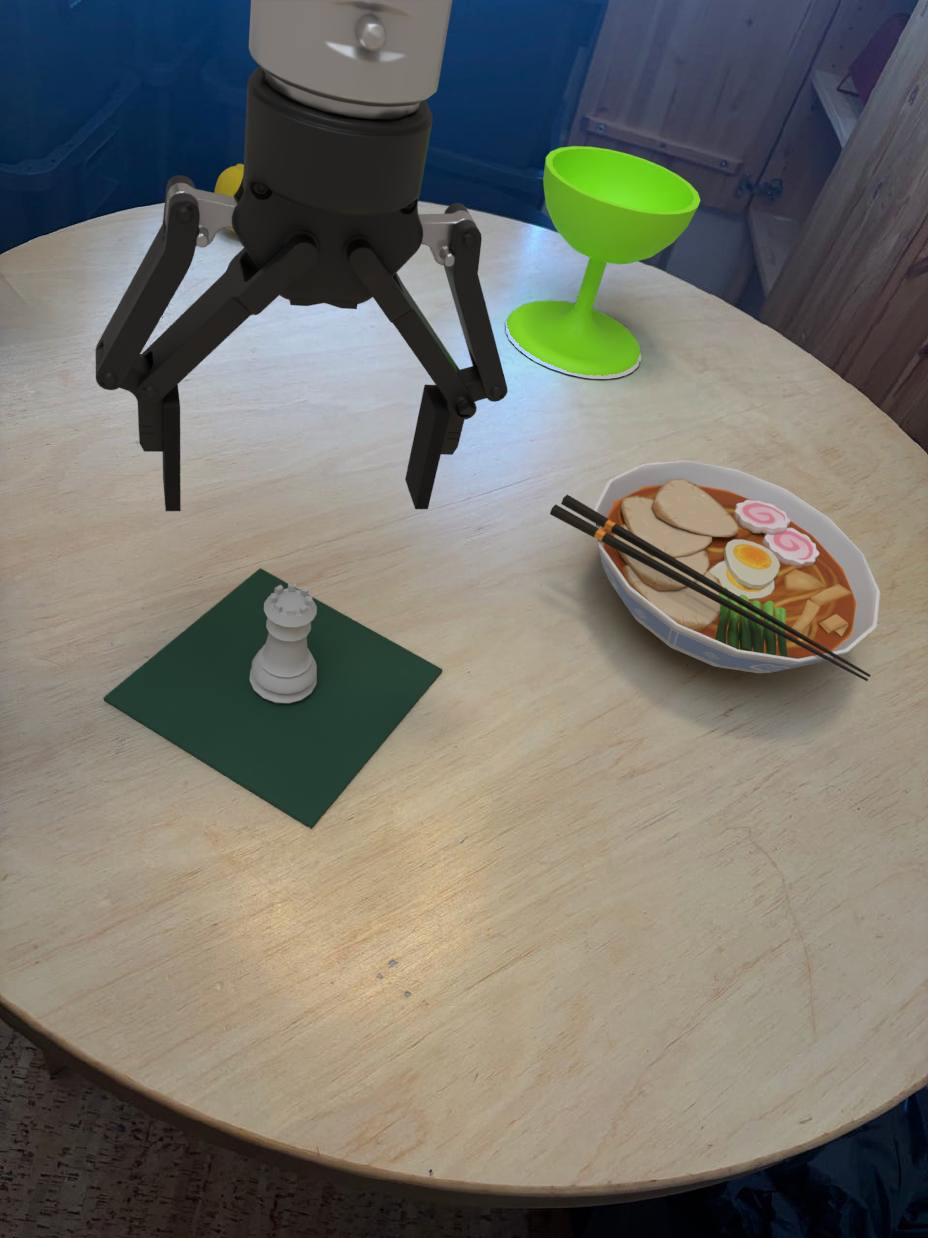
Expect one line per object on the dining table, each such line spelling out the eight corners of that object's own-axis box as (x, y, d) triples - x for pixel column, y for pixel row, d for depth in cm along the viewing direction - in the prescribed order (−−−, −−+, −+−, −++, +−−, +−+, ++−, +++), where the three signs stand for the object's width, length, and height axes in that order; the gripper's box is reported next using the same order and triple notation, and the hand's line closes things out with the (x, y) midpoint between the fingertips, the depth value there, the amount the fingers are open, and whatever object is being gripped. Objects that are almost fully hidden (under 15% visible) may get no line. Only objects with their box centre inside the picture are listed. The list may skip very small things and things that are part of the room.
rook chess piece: (271, 717, 62) (279, 633, 56) (236, 672, 64) (240, 586, 58) (329, 691, 64) (342, 608, 58) (293, 648, 66) (302, 564, 61)
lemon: (246, 222, 112) (249, 152, 106) (271, 243, 109) (276, 172, 104) (204, 227, 109) (204, 155, 103) (228, 249, 106) (230, 176, 100)
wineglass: (640, 394, 101) (702, 229, 89) (495, 356, 101) (537, 185, 89) (642, 327, 113) (698, 172, 101) (513, 292, 113) (552, 133, 100)
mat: (103, 700, 60) (103, 697, 60) (259, 570, 71) (260, 567, 71) (311, 829, 57) (311, 826, 56) (441, 672, 68) (442, 669, 68)
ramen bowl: (880, 624, 82) (931, 553, 76) (795, 789, 67) (851, 716, 61) (630, 487, 89) (660, 413, 83) (502, 608, 74) (528, 527, 68)
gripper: (-5, 71, 32) (54, 544, 46) (652, 155, 40) (525, 535, 55) (7, 2, 37) (57, 450, 51) (591, 90, 45) (490, 455, 59)
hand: (299, 495), depth 53 cm, fingers open, 13 cm apart
